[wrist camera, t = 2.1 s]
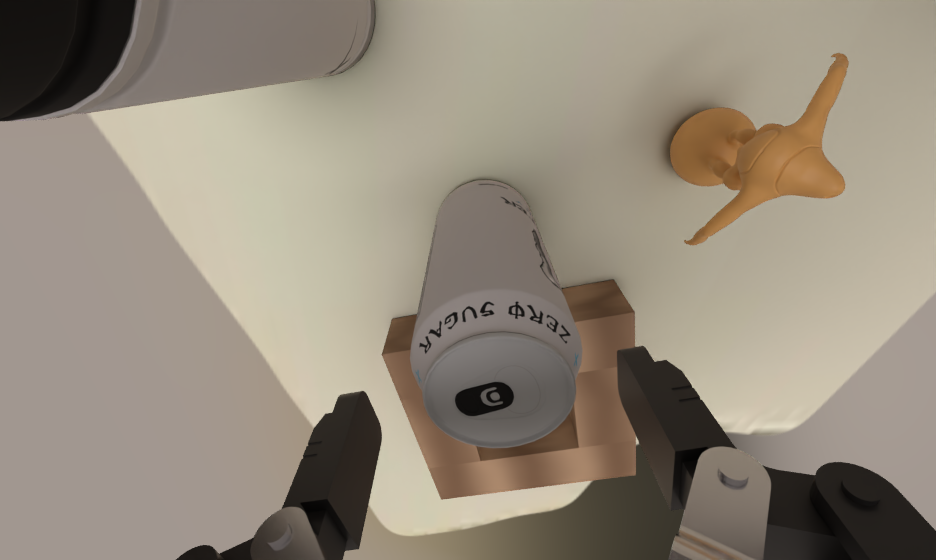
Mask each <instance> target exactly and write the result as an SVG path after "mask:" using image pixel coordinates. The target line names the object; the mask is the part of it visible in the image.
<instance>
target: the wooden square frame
mask: <svg viewBox="0 0 936 560" xmlns="http://www.w3.org/2000/svg"><path fill="white" fill-rule="evenodd" d="M562 292H563V294H564V297H565V299H566V302H567V304H568V307H569V309H570V312H571V314H572V317H573V320H574V322H575V325H576V327H577V330H578V332H579V335H580V337H581V344H582V350H583V351H582V361H581V366H580V369H579V372H578V375H577V377H576V380H575V383H576V397H575V402H574V404H573V407H572V409H571V411H570V413H569V414H568V416H567V417H566V419H565V420H564V421H563V422H562V423H561V424H560V425H559V426H558V427H557V428H556V429H555V430H553V431H552V432H550V433H549V434H548V435H546V436H544V437H542V438H540V439H538V440H536V441H534V442H530V443H527V444H524V445H521V446H515V447H509V448H486V447H478V446H474V445H469V444H466V443H463V442H461V441H458V440H456V439H454V438H452V437H451V436H449V435H447V434H445V433H444V432H443V431H442V430H441V429H439V428H438V427H437V426H436V425H435V424H434V422H433V421H432V420H431V418H430V417H429V416H428V414H427V411H426V409H425V407H424V403H423V396H422V390H421V389H420V387H419V386H418V384H417V381H416V379H415V377H414V374H413V372H412V368H411V362H410V352H411V343H412V338H413V333H414V328H415V323H416V318H417V315H411V316H406V317H400V318H395V319H392V321H391V325H390V328H389V332H388V335H387V339H386V342H385V346H384V349H383V353H382V356H383V359H384V361H385V363H386V366H387V368H388V371H389V373H390V376H391V378H392V381H393V383H394V385H395V388H396V390H397V393H398V395H399V398H400V400H401V402H402V405H403V407H404V410H405V412H406V415H407V417H408V419H409V422H410V424H411V427H412V429H413V432H414V434H415V437H416V439H417V441H418V444H419V446H420V449H421V451H422V454H423V456H424V458H425V461H426V463H427V466H428V468H429V471H430V473H431V476H432V478H433V480H434V483H435V485H436V488H437V490H438V493H439V495H440V497H441V499H449V498H457V497H465V496H473V495H481V494H489V493H497V492H505V491H512V490H520V489H528V488H536V487H544V486H552V485H560V484H568V483H576V482H583V481H591V480H599V479H607V478H615V477H622V476H630V475H636V434H635V432H634V430H633V428H632V425H631V423H630V421H629V419H628V417H627V415H626V412H625V410H624V408H623V406H622V403H621V400H620V396H619V392H618V378H617V351H618V350H621V349H627V348H633V347H635V312H634V311H633V309H632V307H631V306H630V304H629V303H628V301H627V300H626V298H625V297H624V295H623V293H622V292H621V290H620V289H619V287H618V286H617V284H616V283H615V281H614V280H609V281H603V282H597V283H592V284H586V285H580V286H575V287H569V288H564V289H562Z"/></svg>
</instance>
